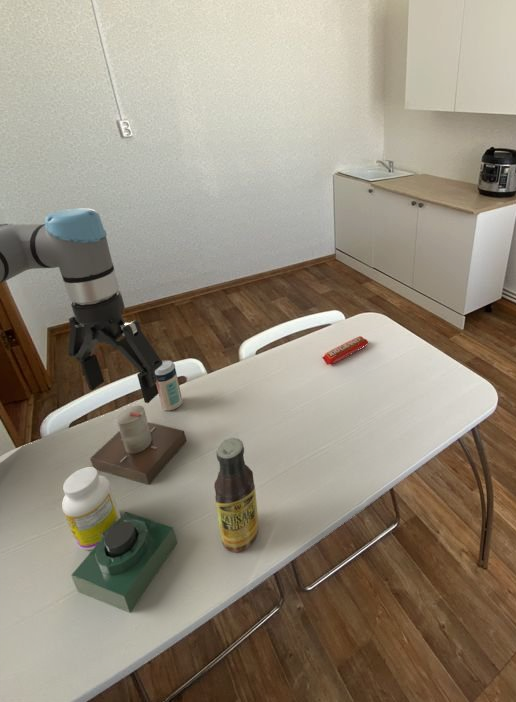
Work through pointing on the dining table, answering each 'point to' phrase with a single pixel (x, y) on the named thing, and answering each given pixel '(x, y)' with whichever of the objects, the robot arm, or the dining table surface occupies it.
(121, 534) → the dark grey push button
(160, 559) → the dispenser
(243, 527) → the sauce bottle
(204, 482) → the dining table surface
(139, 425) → the dial
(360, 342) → the candy bar
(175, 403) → the pale pink canister
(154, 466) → the dial panel
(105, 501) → the supplement bottle
